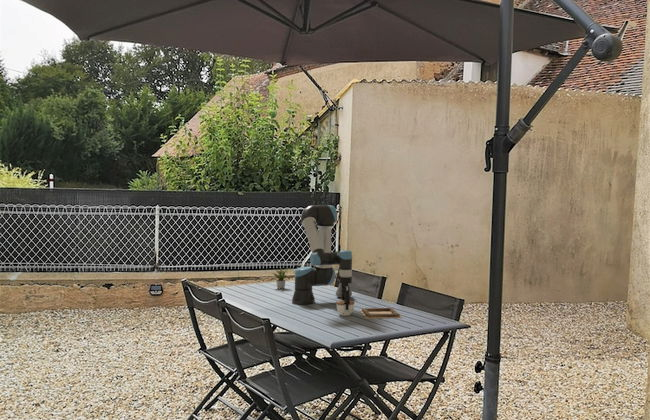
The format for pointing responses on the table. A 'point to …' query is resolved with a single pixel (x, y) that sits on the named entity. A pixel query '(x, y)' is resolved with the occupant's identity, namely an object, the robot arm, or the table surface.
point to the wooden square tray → (379, 313)
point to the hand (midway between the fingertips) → (345, 313)
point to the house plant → (280, 278)
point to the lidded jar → (342, 307)
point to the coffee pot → (339, 290)
